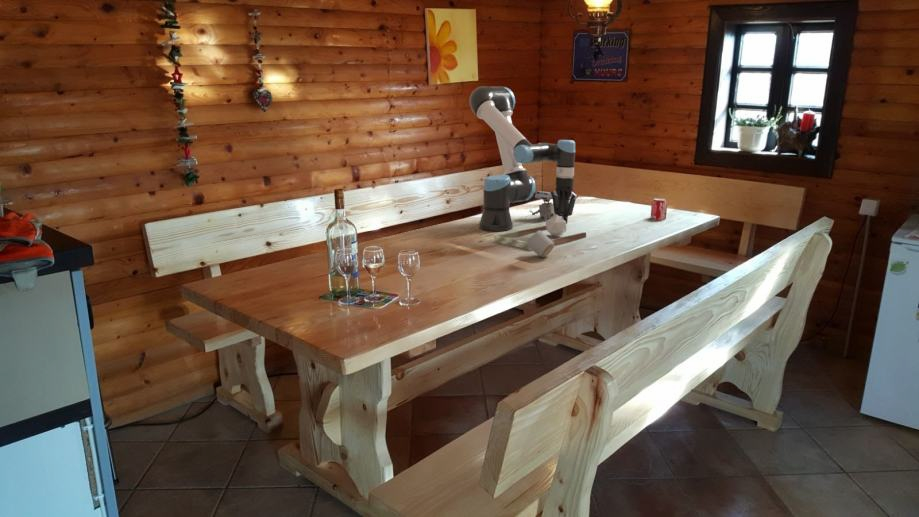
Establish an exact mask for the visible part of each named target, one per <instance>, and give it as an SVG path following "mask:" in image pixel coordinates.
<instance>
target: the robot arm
mask: <svg viewBox="0 0 919 517" xmlns="http://www.w3.org/2000/svg"><path fill="white" fill-rule="evenodd" d="M515 105H516V98H515V95H514V92H513V91H512V90H511V89H510V88H508V87H506V86H501V85H499V86H486V85H485V86H484V85H481V86H478V87H476V88H475V89H474V90H473V91H472V92H471V93H470V96H469V106H470V109H471V111H472V112H473V114H474V115H475V116H476V117H477V118H478V119H480V120H483V121H484V122H485V123H486V124H487V125H488V126H489V127H490V128H491V130H493V131H494V132H495V133H494V134H495V137H496V142H497V147H498V151H499V155H500V158H501V163H502V167H503V174H495V175H494V174H493V175H489V176H487V177H486V178H484V181H483V188H482V189H483V210H482V214H481V217H480V220H479V223H478V224H479V226H478V227H479V228H478V229H481V230H483V231H492V232H493V231H494V232H503V231H509V230H512V229H513V227H514V223H513V221H512V217H511V213H510V204H511V203H513V204H514V203H522V202H526V201H529V200H531V199H532V197H534V194H535V193H536V188H537V187H536V182H535V179H534V178H533V177H532V176H531V175H529V174H528V170H527V169H526V168H525V167H523V164H529V163H530V164H532V163H539V162H540V163H542V162H554V163H555V162H556V173H555V175H556V178H555V186H556V187H555V190H553V191H550V193H551V195H552V198H553V199H552V204H553V205H554V213H555V214H557V215H558V216H560V217H561V218H562V219H564V220H565V221H566V225H568V219H569V217H570V216H573V213H574V212H573V211H574V207H575V204H576V200H577V199H578V194H577V193H574V189H573V188H574V181H575V179H574V176H575V160H576V151H577V150H576V142H575V141H574V140H572V139H558V141H557V143H549V142H539V143H536V144H535V143H534V144H533V143H531V142H530V141H529V139H527V138H526V137H525V136H524V135H523V134H522V133H521V132H520V131H519V130H518V129H517V128H516V126H514V124H513V121H512V115H513V113H514V112H513V111H514V109H515Z"/></svg>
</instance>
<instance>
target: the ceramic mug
mask: <svg viewBox="0 0 919 517" xmlns="http://www.w3.org/2000/svg"><path fill="white" fill-rule="evenodd" d="M526 242H527V246H528V247H529V248H530V249H532V250H531V251H533V252H534V253H535V254H536V255H538V257H541V258H545V257H547V256H548V255H549V254H550V253H552V251H553V249H554V247H555V246H554V243H553V242H552V240H551V238H549V237H548V236H547V235H546V234H545V233H544V232H543V231H540V230H539V231H537V232H536V233H532V234H531V236H530V238H529V239H528V240H527V241H526Z"/></svg>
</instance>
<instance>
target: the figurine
mask: <svg viewBox="0 0 919 517" xmlns="http://www.w3.org/2000/svg"><path fill="white" fill-rule="evenodd" d="M534 194H535V195H534V198H535V199H538V200H542V201H543V202H542V203H541V204H539V205H538V209H537V210H535V211H532V210H530V213H531V215H532V216H535V215H537V214H539V221H542V222H546V221H547V220H548V219H550V218H552V217H553V216H555V215H556V214H555V213H554V205H553V201H552V202H550V201H551V200H553V198H552V195H551V191H543V190H537V191H535V193H534Z"/></svg>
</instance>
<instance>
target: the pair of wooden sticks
mask: <svg viewBox="0 0 919 517" xmlns="http://www.w3.org/2000/svg"><path fill="white" fill-rule="evenodd" d="M539 230H540V231H542V232H543V231H547V229H546V225H542V226H541V225H540V226H537V227H531V228H526V229H522V230H516V231H512V232H507V233H500V234H496V235H493V242H494V243H497V244H503V245H507V246H512V247H517V248H521V249H525V250H528V251H533V250H532V249H530V248H529V247H528V246H527V242H528V241H524V240H519V239H517V238H521V237H525V236H528V235H533V234H534V233H536V232H537V231H539ZM586 238H587V232H585V231H584V232H580V233H574V234H571V235H570V234H569V235H565V236H561V237H555V238H553V239H551V238H550V239H551V240H552V242H553V243H554V247H555V246H559V245H563V244H568V243H572V242H575V241H578V240H582V239H586Z"/></svg>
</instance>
